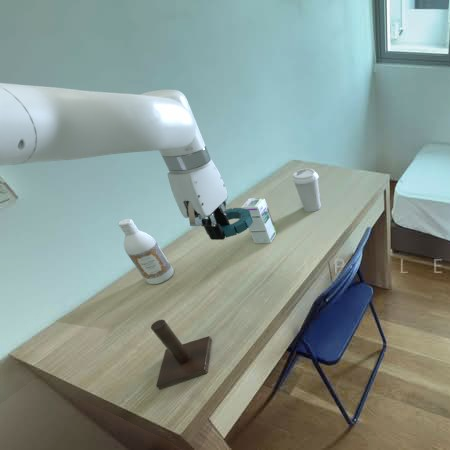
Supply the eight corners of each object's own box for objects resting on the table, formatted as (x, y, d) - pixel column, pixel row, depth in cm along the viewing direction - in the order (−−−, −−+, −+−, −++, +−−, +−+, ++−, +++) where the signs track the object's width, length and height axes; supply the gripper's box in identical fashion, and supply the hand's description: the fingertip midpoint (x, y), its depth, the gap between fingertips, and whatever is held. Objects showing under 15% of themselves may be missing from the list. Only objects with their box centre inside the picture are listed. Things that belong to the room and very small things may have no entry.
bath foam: (147, 288, 88) (107, 232, 77) (147, 275, 93) (109, 220, 81) (175, 278, 91) (140, 222, 80) (173, 265, 96) (140, 211, 85)
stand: (207, 373, 66) (179, 334, 58) (159, 389, 64) (123, 351, 56) (211, 339, 73) (187, 301, 65) (168, 353, 71) (137, 314, 63)
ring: (254, 230, 72) (252, 222, 71) (207, 243, 68) (203, 235, 67) (250, 210, 79) (248, 204, 78) (207, 221, 76) (204, 214, 75)
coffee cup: (316, 199, 127) (308, 165, 119) (329, 206, 122) (322, 172, 113) (295, 208, 122) (286, 173, 113) (308, 216, 116) (299, 181, 108)
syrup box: (271, 243, 103) (258, 206, 95) (254, 243, 104) (239, 207, 95) (277, 233, 108) (265, 197, 100) (260, 233, 108) (247, 197, 100)
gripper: (194, 145, 67) (224, 216, 77) (139, 176, 54) (184, 257, 64) (227, 144, 67) (253, 216, 77) (180, 176, 53) (219, 257, 64)
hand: (221, 234), depth 70 cm, fingers closed on ring, 2 cm apart
